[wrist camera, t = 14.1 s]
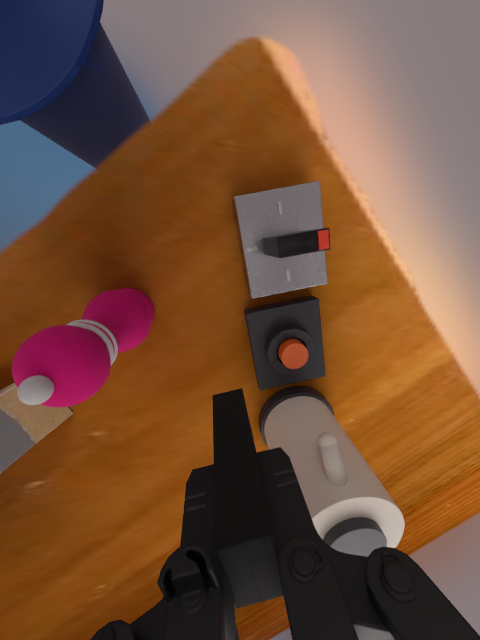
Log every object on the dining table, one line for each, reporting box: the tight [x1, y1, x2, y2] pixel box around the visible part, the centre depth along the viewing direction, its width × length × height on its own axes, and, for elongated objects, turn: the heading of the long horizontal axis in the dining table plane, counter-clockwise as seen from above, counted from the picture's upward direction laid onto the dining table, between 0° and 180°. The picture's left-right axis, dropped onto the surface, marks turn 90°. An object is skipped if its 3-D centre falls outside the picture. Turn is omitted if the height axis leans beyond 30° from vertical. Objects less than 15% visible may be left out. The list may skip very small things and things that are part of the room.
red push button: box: [278, 339, 309, 369], centre depth 33 cm, size 4×4×2 cm
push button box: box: [244, 296, 325, 390], centre depth 36 cm, size 12×10×4 cm
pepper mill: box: [12, 288, 155, 407], centre depth 24 cm, size 7×7×20 cm
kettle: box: [259, 386, 404, 557], centre depth 32 cm, size 17×12×19 cm
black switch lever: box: [263, 228, 330, 258], centre depth 27 cm, size 5×2×7 cm, turn 100°
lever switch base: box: [232, 181, 327, 299], centre depth 32 cm, size 12×10×3 cm
